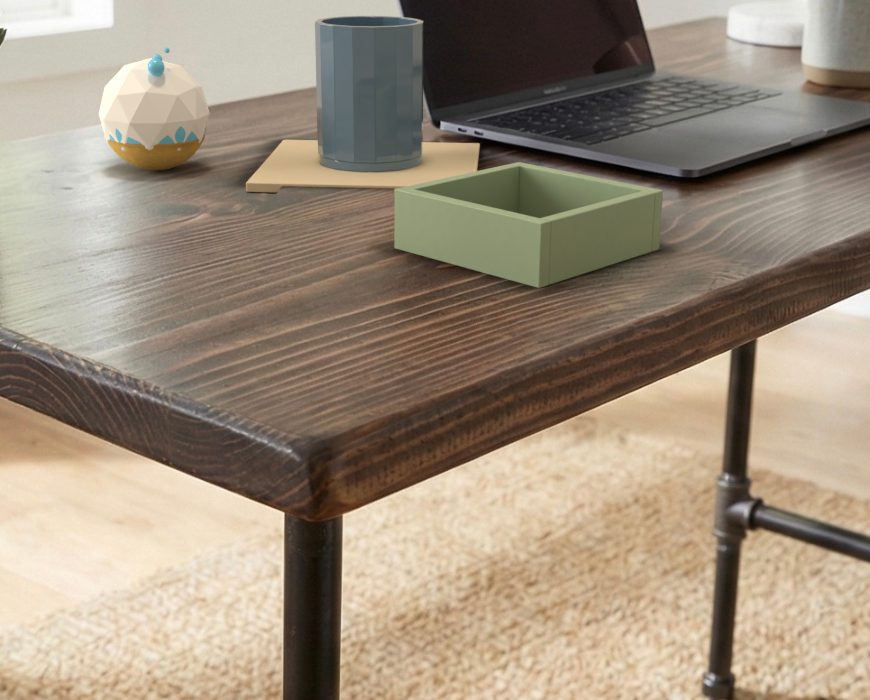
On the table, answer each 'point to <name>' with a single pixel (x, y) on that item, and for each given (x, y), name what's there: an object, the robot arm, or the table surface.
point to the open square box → (527, 222)
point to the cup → (369, 92)
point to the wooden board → (302, 168)
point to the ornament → (154, 114)
